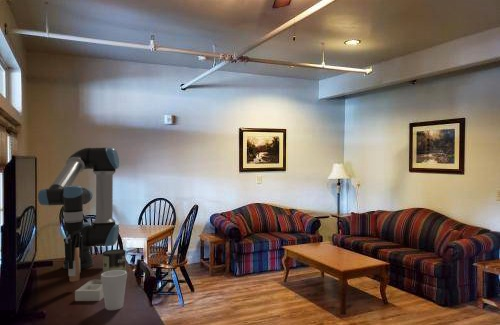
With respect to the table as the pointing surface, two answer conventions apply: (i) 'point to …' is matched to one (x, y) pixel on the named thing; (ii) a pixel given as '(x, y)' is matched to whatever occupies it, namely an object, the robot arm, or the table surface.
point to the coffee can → (114, 260)
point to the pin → (76, 266)
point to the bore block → (90, 291)
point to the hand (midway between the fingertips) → (74, 274)
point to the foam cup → (114, 288)
